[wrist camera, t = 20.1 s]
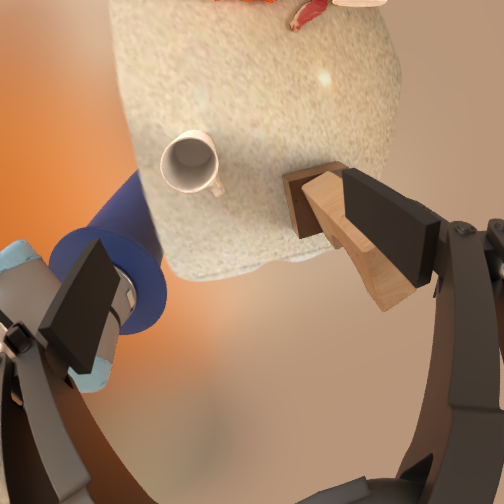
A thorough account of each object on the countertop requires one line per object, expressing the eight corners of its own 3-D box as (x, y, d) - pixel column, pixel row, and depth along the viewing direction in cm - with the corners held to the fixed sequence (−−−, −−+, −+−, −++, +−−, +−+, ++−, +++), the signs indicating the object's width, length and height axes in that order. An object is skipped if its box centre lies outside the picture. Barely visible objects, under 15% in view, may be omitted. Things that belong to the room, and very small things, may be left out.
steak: (330, 3, 29) (317, -7, 28) (332, 2, 28) (318, -8, 27) (298, 35, 32) (283, 24, 31) (299, 34, 31) (284, 23, 30)
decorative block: (351, 222, 46) (418, 291, 29) (324, 238, 47) (382, 315, 30) (330, 168, 40) (408, 221, 24) (299, 185, 41) (363, 250, 24)
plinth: (292, 229, 50) (299, 239, 46) (281, 174, 44) (288, 181, 41) (344, 214, 50) (354, 223, 46) (338, 161, 44) (349, 166, 41)
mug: (163, 147, 39) (148, 163, 29) (197, 119, 37) (193, 124, 27) (204, 192, 44) (204, 222, 34) (237, 166, 42) (247, 189, 32)
